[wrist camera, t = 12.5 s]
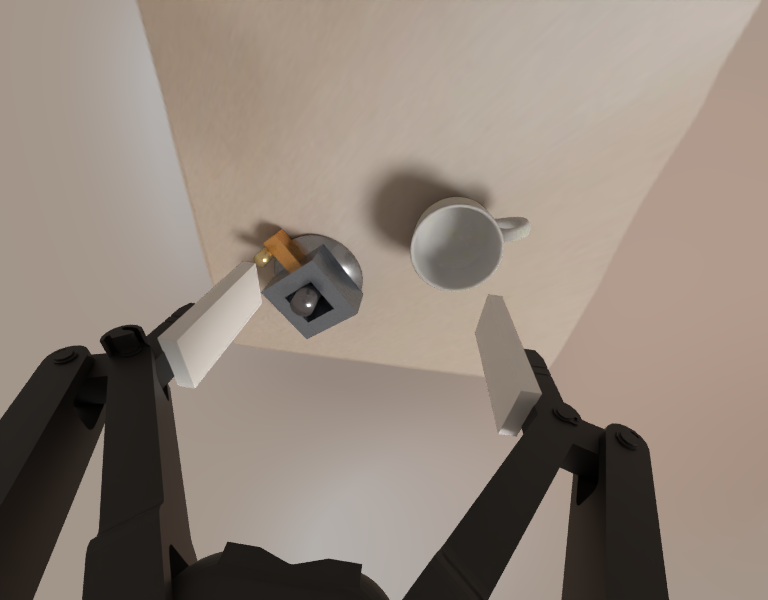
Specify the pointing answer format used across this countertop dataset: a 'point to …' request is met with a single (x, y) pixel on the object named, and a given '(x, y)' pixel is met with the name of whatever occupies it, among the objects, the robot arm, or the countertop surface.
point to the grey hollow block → (322, 274)
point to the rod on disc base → (309, 293)
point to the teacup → (461, 243)
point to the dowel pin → (263, 257)
